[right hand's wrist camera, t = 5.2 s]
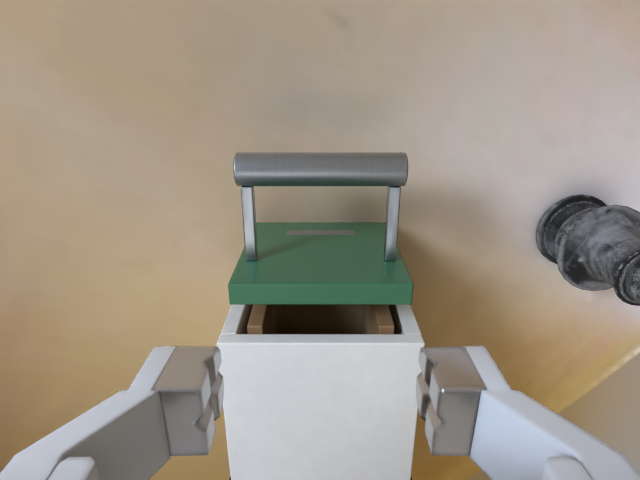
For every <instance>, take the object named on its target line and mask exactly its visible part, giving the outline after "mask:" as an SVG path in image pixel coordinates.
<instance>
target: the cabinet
mask: <svg viewBox="0 0 640 480" xmlns="http://www.w3.org/2000/svg"><path fill="white" fill-rule="evenodd" d="M388 306H389V310H390V313H391V317H392V320H393V323H394V334H248V330H247V326H248V322H249V319H250V315H251V312H252V308H253V305H231V308H230V310H229V313H228V316H227V318H226V321H225V323H224V326H223V329H222V331H221V334H220V336H219V339H218V342H217V347H218V348H219V349H220V353H221V360H222V362H221V365H220V368H219V371H220V374H221V375H222V376H223V380H224V398H223V409H224V418H225V428H226V438H227V447H228V457H229V466H230V476H231V480H411V470H412V461H413V451H414V442H415V433H416V423H417V414H418V405H417V399H416V381H417V376H418V375H419V374H420V373H421V372H422V371H421V368H420V365H419V362H418V360H419V352H420V349H421V347H425V343H424V340H423V338H422V335H421V332H420V329H419V326H418V324H417V321H416V319H415V316H414V314H413V311H412V308H411V306H410V305H388Z"/></svg>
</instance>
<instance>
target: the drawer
mask: <svg viewBox="0 0 640 480" xmlns="http://www.w3.org/2000/svg"><path fill="white" fill-rule="evenodd" d="M407 177H408V158H407V155H406V153H236V154H235V157H234V179H235V183H236V185H237V186H242V187H241V197H242V211H243V226H244V240H245V247H244V249H243V252H242V254H241V256H240V258H239V261H238V263H237V265H236V268H235V270H234V272H233V274H232V277H231V279H230V281H229V284H228V289H229V300H230V304H231V305H253V308H252V312H251V315H250V319H249V322H248V326H247V330H248V334H394V323H393V320H392V317H391V313H390V310H389V306H388V305H410V304H412V296H413V282H412V280H411V278H410V275H409V273H408V271H407V269H406V266H405V264H404V262H403V260H402V257H401V255H400V253H399V251H398V248H397V234H398V220H399V206H400V192H401V187H400V186H405V184H406V182H407ZM254 186H388V189H387V206H386V223H256V214H255V197H254Z"/></svg>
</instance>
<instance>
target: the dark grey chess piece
mask: <svg viewBox="0 0 640 480" xmlns="http://www.w3.org/2000/svg"><path fill="white" fill-rule="evenodd" d="M536 241H537V246H538V248H539V250H540V252H541V253H542V255H543V256H545V257H546V258H547V259H548V260H549V261H552V262H554V263H556V264H558V269H559V271H560V273H561V274H562V276H563V278H564V279H565V280H567V281H568V282H569V283H570V284H571V285H573V286H575V287H577V288H580V289H582V290H590V291H598V290H606V289H609V288H612V287H614V290H615V292H616V294H617V296H618V297H619V298H620V299H621V300H622V301H623V302H626V303H628V304H630V305H637V306H640V212H638V211H636V210H634V209H632V208H629V207H626V206H619V205H612V206H607V205H606V204H605V203H603V202H602V201H601V200H599V199H597V198H595V197H593V196H587V195H576V196H571V197H568V198H565V199H562V200H561V201H559V202H557V203H556V204H554V205H553V206H552V207H551V208H550V209H549V210H548V211H547V212H546V213H545V214H544V216H543V217H542V219H541V220H540V222H539V225H538V228H537V233H536Z"/></svg>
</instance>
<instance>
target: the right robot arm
mask: <svg viewBox="0 0 640 480" xmlns="http://www.w3.org/2000/svg"><path fill="white" fill-rule="evenodd" d="M221 362H222V360H221V353H220V349H219V348H218V347H203V346H178V347H177V346H157V347H155V348H154V349H153V350H152V351H151V353H150V355H149V356H148V358H147V360H146V361H145V363H144V365H143V366H142V368H141V369H140V371H139V373H138V374H137V376H136V378H135V379H134V381H133V382H132V384H131V386H130V387H129V389H128V390H121V391H120V392H118V393H116V394H115V395H113V396H111V397H110V398H108V399H106V400H105V401H103V402H101V403H100V404H98V405H96V406H95V407H93V408H91V409H90V410H88V411H87V412H85V413H83V414H82V415H80V416H78V417H77V418H75V419H73V420H72V421H70V422H68V423H67V424H65V425H63V426H62V427H60V428H59V429H57V430H55V431H54V432H52V433H50V434H49V435H47V436H45V437H44V438H42V439H40V440H39V441H37V442H35V443H34V444H32V445H30V446H29V447H27V448H26V449H24V450H22V451H21V452H19V453H17V454H16V455H15V456H14V457H13V458H12V459H11V461H10V462H9V463H8V464H7V465H6V467H5V468H4V469H3V470H2V472H1V473H0V480H149V479H150V478H151V477H152V476H153V475H154V474H155V473H156V472H157V471H158V470H159V469H160V468H161V467H162V466H163V465H164V464H165V463H166V462H167V461H168V460H169V459H170V456H189V455H208V454H209V451H210V448H211V444H212V441H213V438H214V434H215V423H214V421H215V420H216V419H217V418H219V417H220V414H221V410H222V405H223V398H224V380H223V376H222V375H221V374H220V373H219V372H218V371H219V368H220V365H221ZM418 362H419V365H420V368H421V371H422V372H421V373H420V374H419V375H418V376H417V381H416V399H417V405H418V410H419V413H420V417H422V418H423V419H424V420H425V421H426V424H425V434H426V437H427V441H428V444H429V447H430V451H431V454H432V455H450V456H470V459H471V460H472V461H473V462H474V463H475V464H476V465H477V466H478V467H479V468H480V469H481V470H482V471H483V472H484V473H485V474H486V475H487V476H488V477H489V478H490V479H491V480H640V473H639V471H638V470H637V469H636V468H635V466H634V465H633V464H632V463H631V461H630V460H629V459H628V458H627V456H626V455H624V454H622V453H621V452H619V451H618V450H616V449H614V448H612V447H611V446H609V445H608V444H606V443H604V442H603V441H601V440H599V439H598V438H596V437H595V436H593V435H591V434H590V433H588V432H586V431H585V430H583V429H581V428H580V427H578V426H576V425H575V424H573V423H571V422H570V421H568V420H567V419H565V418H563V417H562V416H560V415H558V414H557V413H555V412H553V411H552V410H550V409H548V408H547V407H545V406H544V405H542V404H540V403H539V402H537V401H535V400H534V399H532V398H530V397H529V396H527V395H525V394H524V393H522V392H521V391H519V390H512V389H511V387H510V386H509V384H508V382H507V381H506V379H505V378H504V376H503V374H502V373H501V371H500V370H499V368H498V366H497V365H496V363H495V362H494V360H493V358H492V357H491V355H490V353H489V352H488V350H487V349H486V347H484V346H462V347H421V349H420V352H419V360H418Z"/></svg>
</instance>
